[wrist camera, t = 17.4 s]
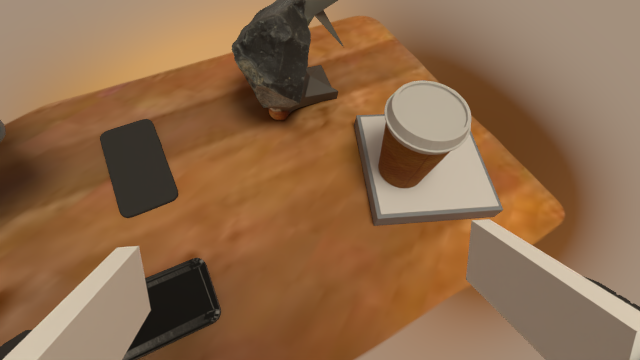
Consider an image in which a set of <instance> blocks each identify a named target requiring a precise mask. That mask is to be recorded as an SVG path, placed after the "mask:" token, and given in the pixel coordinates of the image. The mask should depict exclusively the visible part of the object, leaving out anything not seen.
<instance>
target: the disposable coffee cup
mask: <svg viewBox="0 0 640 360" xmlns="http://www.w3.org/2000/svg"><path fill="white" fill-rule="evenodd" d="M384 113H385V120H386V124H385V129H384V135H383V141H382V147H381V153H380V158H379V164H378V168H379V172H380V174H381V176H382V177H383V179H384V180H385V181H386V182H388V183H389V184H391V185H393V186H395V187H398V188H411V187H414V186H416V185H417V184H418V183H419V182H420V181H421V180H422V179H423V178H424V177H425V176H426V175H427V174H428V173H429V172H430V171H431V170H432V169H433V168H434V167H435V166H436V165H437V164H438V163H439V162H440V161H442V160H443V158H444V157H445V156H446V155H447V154H448V153H449V152H450V151H453V150H455V149H457V148H458V147H460V146H461V145H462V144H463V143H464V142H465V141H466V140H467V138H468V136H469V134H470V129H471V111H470V109H469V106H468V105H467V103H466V101H465V100H464V99H463V98H462V97H461V96H460V95H459V94H458V93H457V92H455V91H454V90H453V89H451V88H449V87H447V86H445V85H443V84H440V83H437V82H432V81H424V80H423V81H413V82H410V83H407V84H405V85H403V86H402V87H400V88H399V89H398V90H397V91H396V92H395V93H394V94H392V95H391V96H390V98H389V99H388V101H387V103H386V106H385V112H384Z"/></svg>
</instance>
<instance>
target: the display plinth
mask: <svg viewBox="0 0 640 360" xmlns="http://www.w3.org/2000/svg"><path fill="white" fill-rule="evenodd" d="M385 124H386V120H385V114H382V115H357V116H356V120H355V124H354V127H355V132H356V137H357V142H358V147H359V152H360V157H361V162H362V167H363V172H364V177H365V182H366V187H367V192H368V197H369V203H370V208H371V213H372V218H373V223H374V226H377V225H390V224H403V223H417V222H430V221H444V220H457V219H470V218H484V217H494V216H496V215H497V214H498V213H500V212H501V211H502V210H503V208H502V206H501V203H500V201H499V198H498V196H497V194H496V191H495V189H494V186H493V184H492V181H491V179H490V177H489V174H488V172H487V169H486V167H485V164H484V162H483V160H482V157H481V155H480V152H479V150H478V148H477V145H476V143H475V140H474V138H473V135H472V133H471V131H470V134H469V136H468V138H467V140H466V141H465V142H464V143H463V144H462V145H461V146H460V147H458V148H457V149H455V150H453V151H450V152H449V153H448V154H447V155H446V156H445V157H444V158H443V160H442V161H440V162H439V163H438V164H437V165H436V166H435V167H434V168H433V169H432V170H431V171H430V172H429V173H428V174H427V175H426V176H425V177H424V178H423V179H422V180H421V181H420V182H419V183H418V184H417V185H416V186H414V187H411V188H398V187H395V186H393V185H391V184H389V183H388V182H386V181H385V180H384V179H383V177H382V176H381V174H380V172H379V168H378V164H379V158H380V153H381V147H382V141H383V135H384V129H385Z"/></svg>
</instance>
